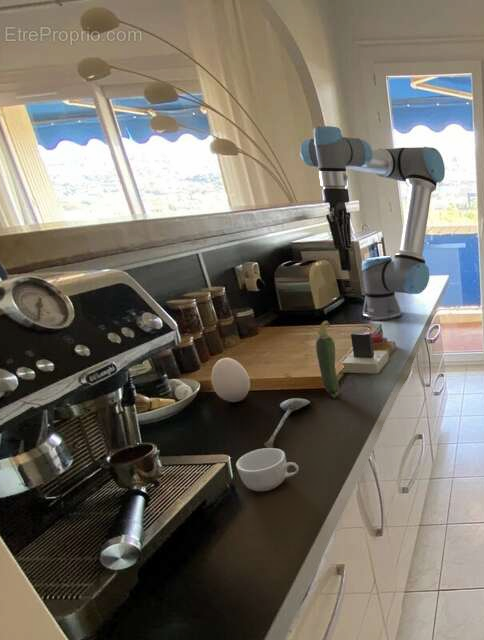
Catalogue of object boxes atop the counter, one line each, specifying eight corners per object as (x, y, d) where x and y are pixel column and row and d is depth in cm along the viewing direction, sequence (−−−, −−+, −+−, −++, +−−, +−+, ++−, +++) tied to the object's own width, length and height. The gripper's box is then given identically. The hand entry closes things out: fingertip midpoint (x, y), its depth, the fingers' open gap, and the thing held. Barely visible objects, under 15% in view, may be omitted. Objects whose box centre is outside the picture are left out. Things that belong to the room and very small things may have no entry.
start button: (372, 339, 145) (371, 333, 144) (384, 339, 145) (384, 333, 144) (368, 343, 141) (367, 337, 140) (381, 343, 141) (380, 337, 140)
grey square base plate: (354, 358, 139) (352, 349, 138) (388, 360, 138) (387, 350, 137) (340, 372, 129) (338, 362, 128) (377, 373, 128) (376, 363, 127)
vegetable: (321, 398, 113) (307, 322, 105) (331, 391, 117) (318, 317, 108) (336, 400, 113) (323, 323, 104) (346, 393, 116) (334, 318, 108)
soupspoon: (314, 403, 112) (288, 405, 112) (312, 391, 111) (284, 393, 110) (285, 447, 92) (252, 450, 92) (281, 433, 91) (247, 436, 90)
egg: (247, 391, 117) (236, 350, 112) (259, 400, 112) (248, 358, 107) (213, 401, 112) (200, 358, 107) (224, 411, 107) (211, 367, 102)
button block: (369, 346, 149) (368, 335, 147) (396, 347, 149) (394, 336, 147) (359, 357, 140) (357, 345, 138) (387, 358, 140) (385, 346, 138)
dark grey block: (353, 357, 132) (350, 333, 128) (356, 354, 133) (353, 331, 130) (372, 357, 131) (369, 334, 128) (374, 355, 133) (371, 332, 130)
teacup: (235, 498, 78) (227, 472, 75) (254, 472, 85) (247, 448, 82) (294, 496, 78) (288, 470, 76) (308, 470, 85) (303, 446, 83)
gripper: (338, 188, 125) (350, 274, 135) (355, 187, 137) (365, 266, 147) (312, 188, 125) (326, 273, 136) (331, 187, 137) (342, 266, 147)
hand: (346, 270), depth 141 cm, fingers closed
